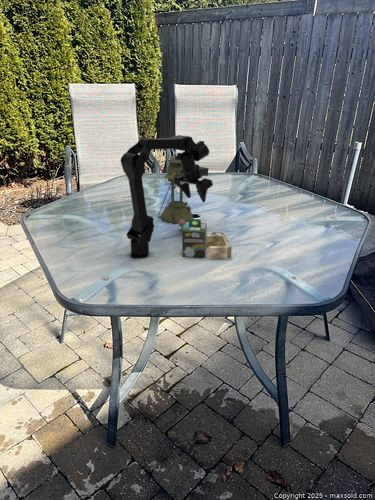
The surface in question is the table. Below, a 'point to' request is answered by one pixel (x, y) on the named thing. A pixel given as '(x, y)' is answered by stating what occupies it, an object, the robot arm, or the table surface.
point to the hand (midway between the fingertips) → (196, 199)
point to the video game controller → (181, 223)
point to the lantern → (174, 208)
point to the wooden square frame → (218, 246)
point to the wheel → (216, 233)
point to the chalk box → (194, 239)
